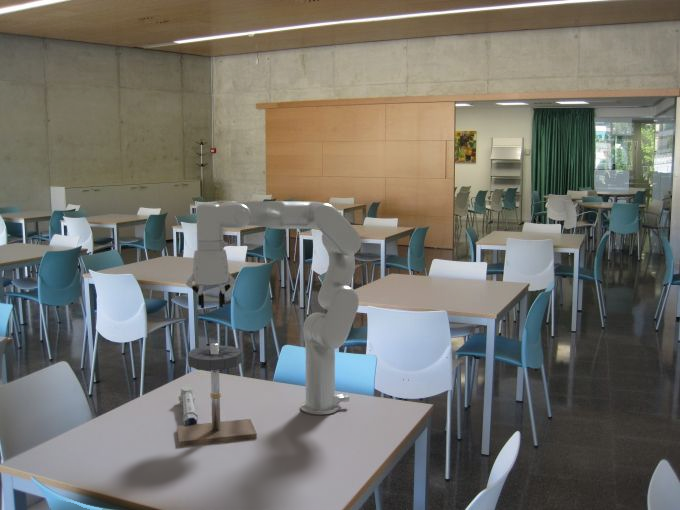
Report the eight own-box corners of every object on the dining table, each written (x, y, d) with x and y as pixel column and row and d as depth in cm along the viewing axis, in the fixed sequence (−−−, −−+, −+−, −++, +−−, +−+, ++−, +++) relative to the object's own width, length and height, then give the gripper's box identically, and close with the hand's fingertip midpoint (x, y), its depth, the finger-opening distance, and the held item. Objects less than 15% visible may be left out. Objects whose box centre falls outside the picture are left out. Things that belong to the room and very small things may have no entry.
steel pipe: (220, 427, 210) (218, 342, 206) (221, 431, 207) (220, 344, 203) (210, 428, 209) (208, 343, 205) (211, 432, 206) (209, 345, 202)
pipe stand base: (250, 423, 217) (250, 418, 217) (256, 438, 205) (256, 433, 205) (177, 430, 211) (177, 426, 211) (179, 446, 199) (179, 441, 199)
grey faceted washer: (237, 353, 214) (237, 344, 214) (244, 367, 200) (244, 357, 200) (186, 357, 210) (186, 347, 210) (190, 371, 196) (190, 361, 195)
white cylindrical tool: (181, 418, 211) (177, 381, 234) (182, 438, 213) (178, 400, 236) (199, 416, 212) (193, 380, 235) (200, 436, 214) (194, 398, 237)
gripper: (237, 243, 212) (238, 303, 215) (179, 245, 207) (181, 306, 210) (241, 246, 205) (242, 308, 207) (181, 248, 200) (183, 311, 203)
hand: (211, 306), depth 209 cm, fingers open, 4 cm apart
